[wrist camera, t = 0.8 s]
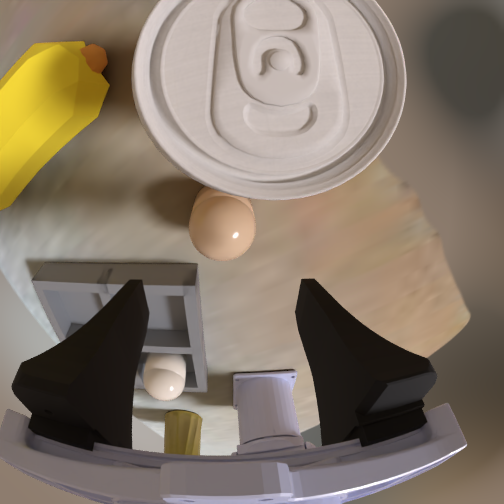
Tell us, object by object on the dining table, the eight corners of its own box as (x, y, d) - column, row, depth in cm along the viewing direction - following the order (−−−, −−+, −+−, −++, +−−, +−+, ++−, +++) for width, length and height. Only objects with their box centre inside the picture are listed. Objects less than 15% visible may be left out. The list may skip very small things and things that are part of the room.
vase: (199, 426, 41) (199, 501, 29) (163, 421, 40) (159, 496, 27) (205, 412, 38) (206, 496, 26) (166, 406, 37) (160, 491, 25)
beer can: (199, 134, 18) (139, 232, 6) (193, 52, 15) (112, -40, 2) (286, 127, 19) (409, 211, 6) (282, 47, 15) (408, -32, 3)
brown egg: (250, 233, 23) (257, 274, 18) (194, 233, 22) (187, 274, 18) (252, 180, 21) (261, 209, 16) (193, 180, 20) (182, 209, 15)
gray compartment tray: (207, 371, 32) (207, 392, 29) (90, 363, 30) (84, 381, 28) (197, 263, 24) (195, 285, 21) (45, 262, 22) (31, 280, 20)
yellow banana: (-27, 157, 16) (6, 215, 19) (-71, 182, 10) (-34, 250, 14) (95, 19, 12) (138, 91, 16) (49, 0, 7) (100, 92, 11)
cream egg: (189, 367, 30) (186, 409, 25) (152, 365, 30) (145, 406, 25) (184, 343, 28) (180, 388, 23) (144, 341, 27) (134, 385, 23)
